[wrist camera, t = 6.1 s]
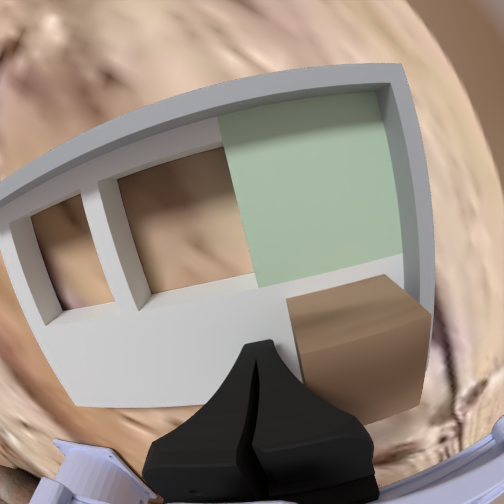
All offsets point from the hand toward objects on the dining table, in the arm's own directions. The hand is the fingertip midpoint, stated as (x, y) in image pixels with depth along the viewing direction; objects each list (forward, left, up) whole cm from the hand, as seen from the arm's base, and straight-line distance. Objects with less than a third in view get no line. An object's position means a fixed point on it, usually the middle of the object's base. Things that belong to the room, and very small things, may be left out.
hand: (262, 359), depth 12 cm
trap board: (+3, +3, -3) cm, 5 cm away
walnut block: (0, -4, -1) cm, 4 cm away
